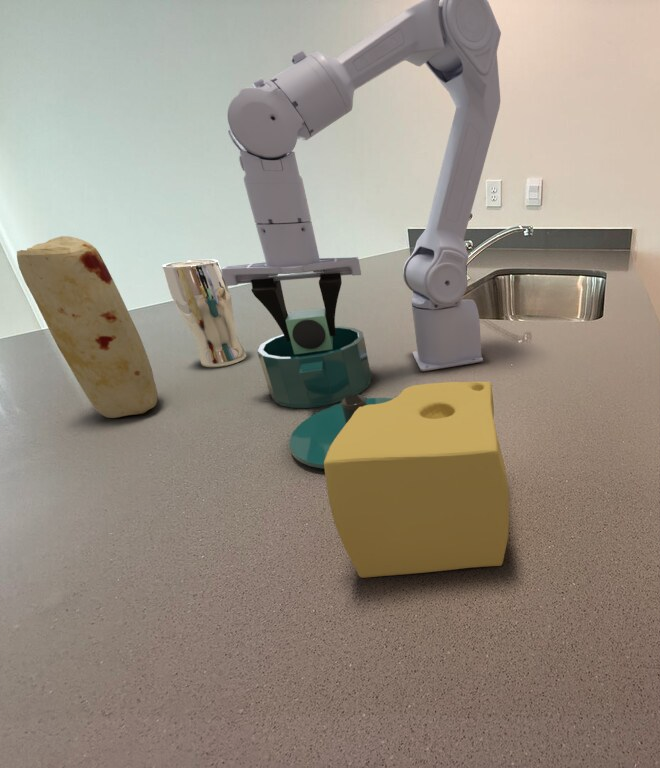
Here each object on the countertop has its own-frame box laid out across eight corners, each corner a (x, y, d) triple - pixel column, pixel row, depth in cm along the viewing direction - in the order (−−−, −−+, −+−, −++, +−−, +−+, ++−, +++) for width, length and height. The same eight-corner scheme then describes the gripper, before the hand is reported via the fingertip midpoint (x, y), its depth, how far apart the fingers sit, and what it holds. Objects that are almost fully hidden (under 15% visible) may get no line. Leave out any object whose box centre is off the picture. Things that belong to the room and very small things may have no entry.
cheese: (381, 485, 36) (361, 383, 32) (502, 476, 37) (498, 376, 33) (349, 587, 27) (314, 463, 22) (512, 573, 27) (508, 450, 23)
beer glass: (225, 370, 61) (188, 267, 54) (186, 367, 62) (146, 266, 56) (259, 353, 67) (230, 259, 60) (224, 351, 68) (192, 259, 62)
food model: (182, 406, 51) (111, 236, 42) (113, 430, 46) (17, 243, 37) (149, 388, 55) (80, 233, 47) (84, 409, 50) (-7, 239, 42)
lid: (413, 397, 51) (409, 366, 50) (435, 454, 40) (430, 416, 38) (297, 418, 47) (287, 385, 45) (285, 489, 36) (271, 448, 34)
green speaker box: (297, 343, 54) (288, 311, 52) (332, 339, 55) (325, 307, 53) (294, 355, 50) (284, 321, 48) (332, 350, 51) (325, 316, 49)
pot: (367, 357, 65) (359, 317, 62) (376, 406, 50) (367, 356, 47) (280, 369, 61) (268, 327, 58) (262, 427, 46) (244, 374, 43)
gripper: (198, 228, 40) (240, 355, 46) (352, 221, 45) (373, 337, 51) (216, 223, 46) (251, 337, 52) (350, 218, 51) (369, 323, 57)
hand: (311, 336), depth 52 cm, fingers closed on green speaker box, 4 cm apart
